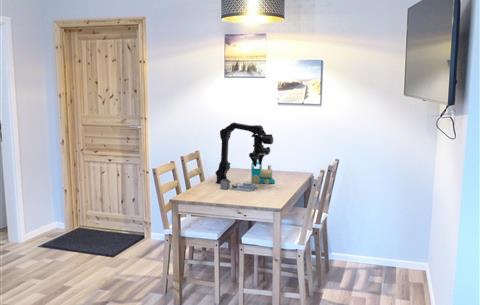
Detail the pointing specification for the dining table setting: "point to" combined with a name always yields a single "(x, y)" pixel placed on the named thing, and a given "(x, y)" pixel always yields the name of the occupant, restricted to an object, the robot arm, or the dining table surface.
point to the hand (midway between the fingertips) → (257, 165)
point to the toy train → (261, 175)
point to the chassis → (244, 187)
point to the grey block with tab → (225, 184)
